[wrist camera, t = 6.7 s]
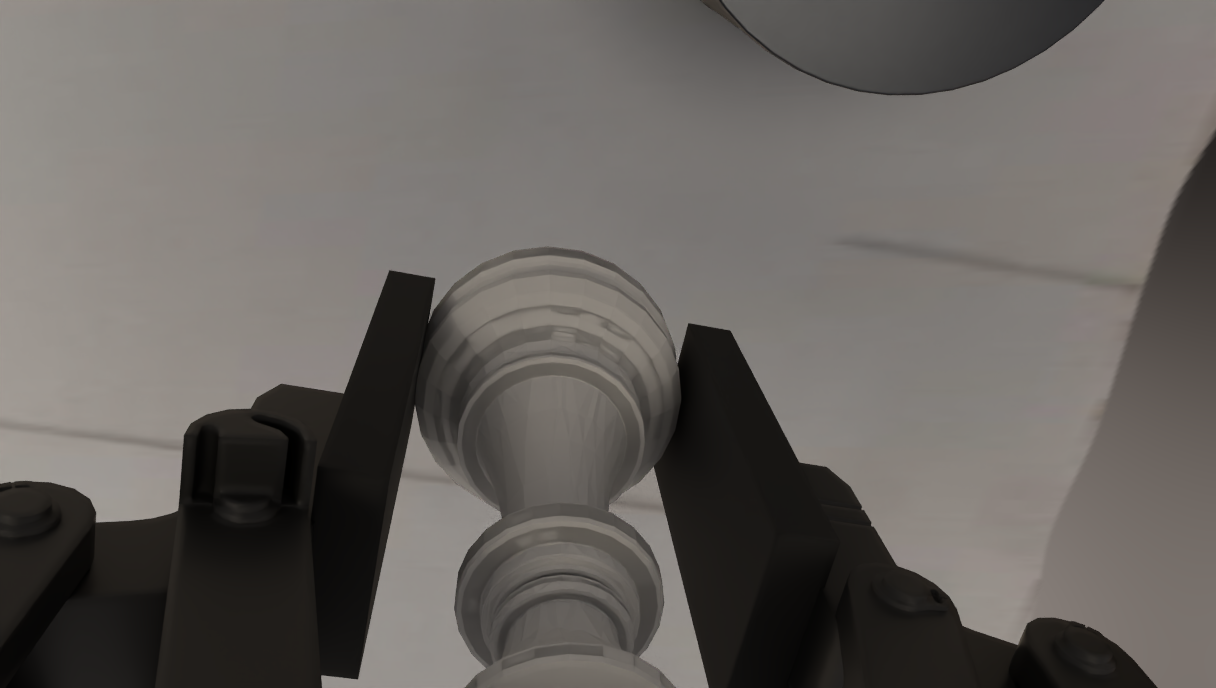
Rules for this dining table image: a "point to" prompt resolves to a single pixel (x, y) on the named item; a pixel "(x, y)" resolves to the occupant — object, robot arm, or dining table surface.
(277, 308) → the dining table surface
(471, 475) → the chess piece
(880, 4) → the pot lid
